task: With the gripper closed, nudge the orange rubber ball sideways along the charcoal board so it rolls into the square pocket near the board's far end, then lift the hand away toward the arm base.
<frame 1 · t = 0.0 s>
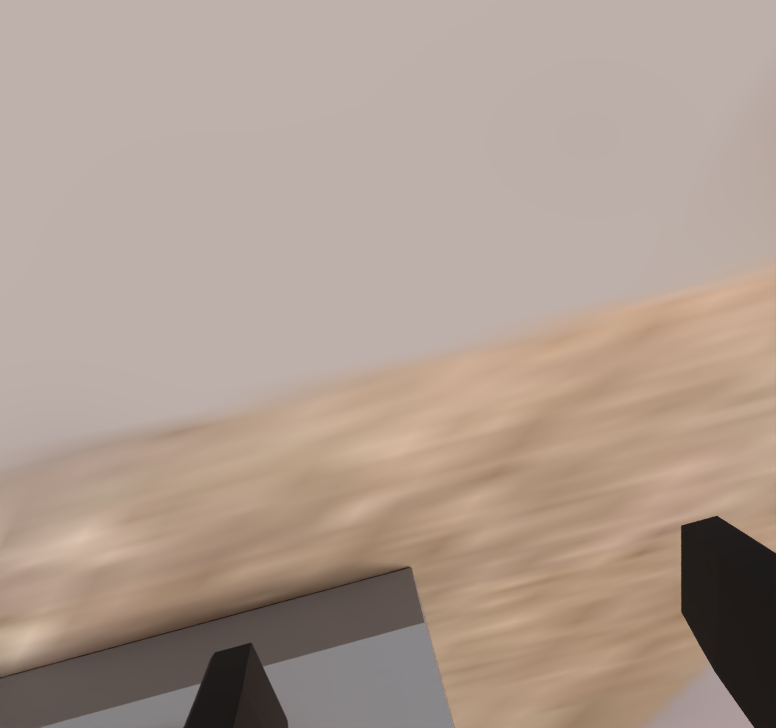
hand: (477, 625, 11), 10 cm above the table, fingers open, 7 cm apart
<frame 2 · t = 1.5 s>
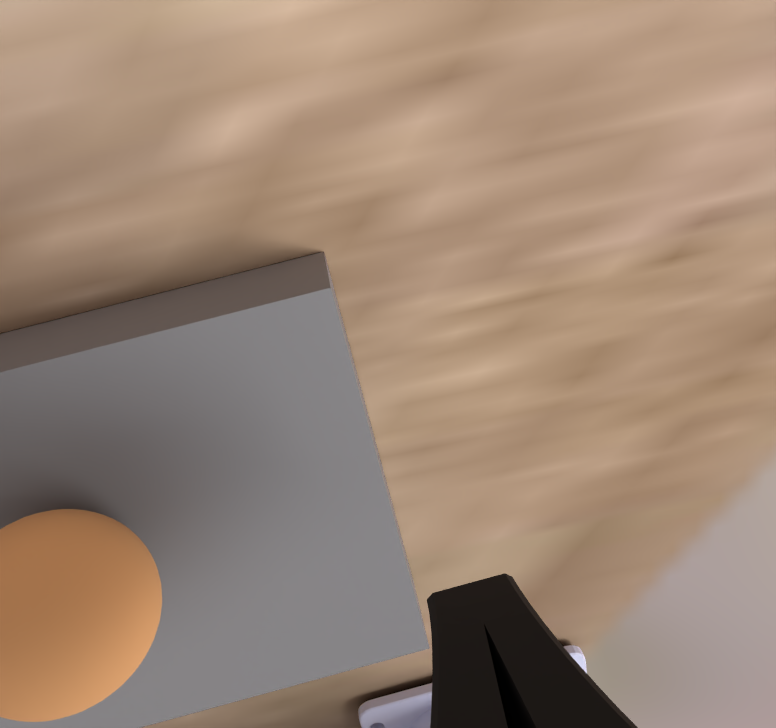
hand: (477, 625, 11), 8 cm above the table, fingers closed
ball: (58, 609, 13), point 4 cm above the table, touching board
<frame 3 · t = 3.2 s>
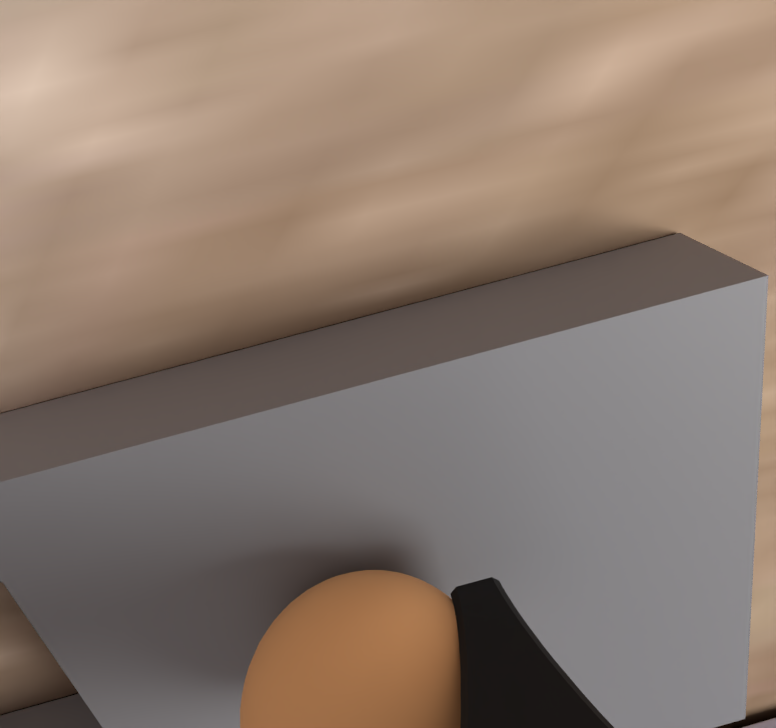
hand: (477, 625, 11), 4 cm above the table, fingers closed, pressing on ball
ball: (372, 706, 10), point 4 cm above the table, tilted 15°, touching board, gripper
board: (206, 598, 14), on the table
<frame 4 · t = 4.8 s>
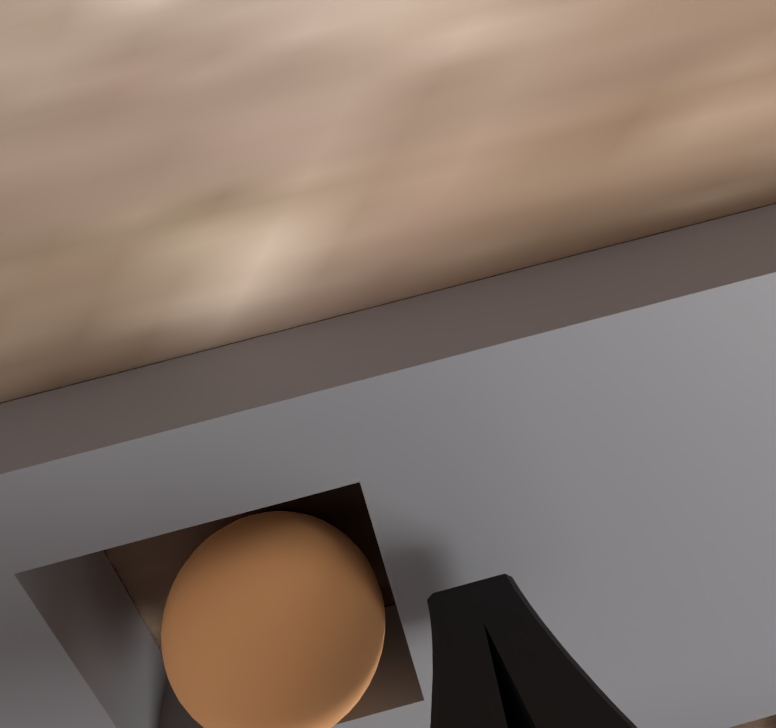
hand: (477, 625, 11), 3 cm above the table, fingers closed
ball: (276, 622, 12), point 2 cm above the table, tilted 77°
board: (465, 525, 14), on the table
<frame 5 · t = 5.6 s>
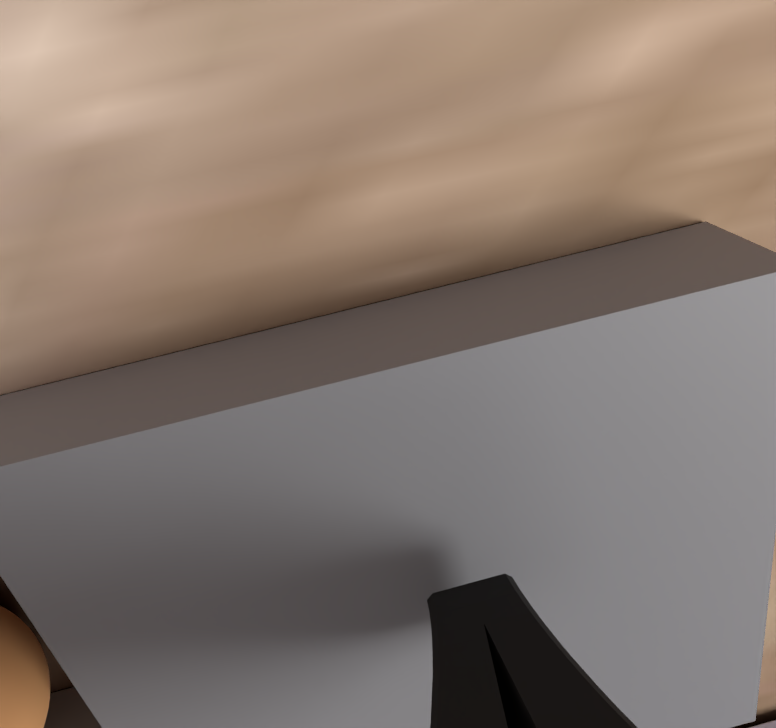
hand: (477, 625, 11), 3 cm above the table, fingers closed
board: (207, 591, 14), on the table
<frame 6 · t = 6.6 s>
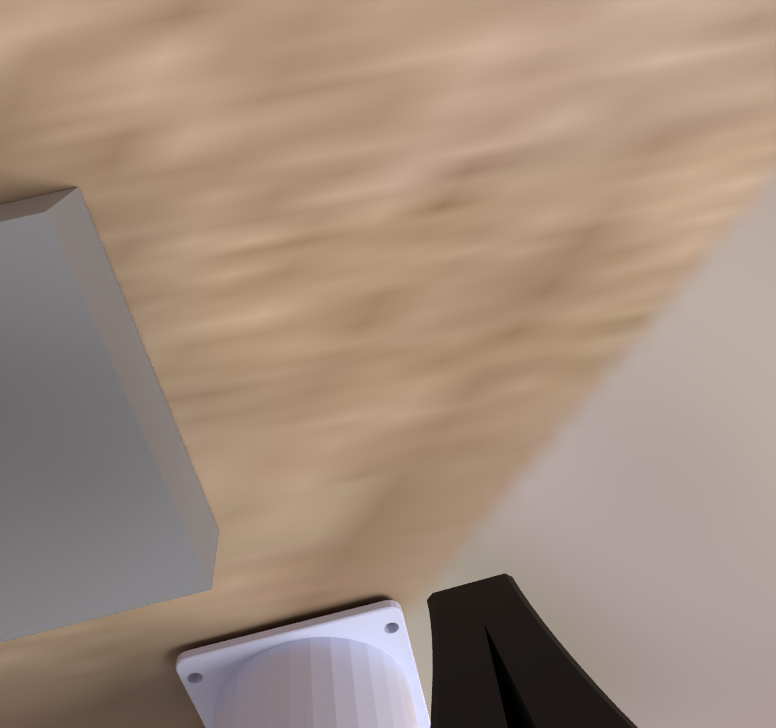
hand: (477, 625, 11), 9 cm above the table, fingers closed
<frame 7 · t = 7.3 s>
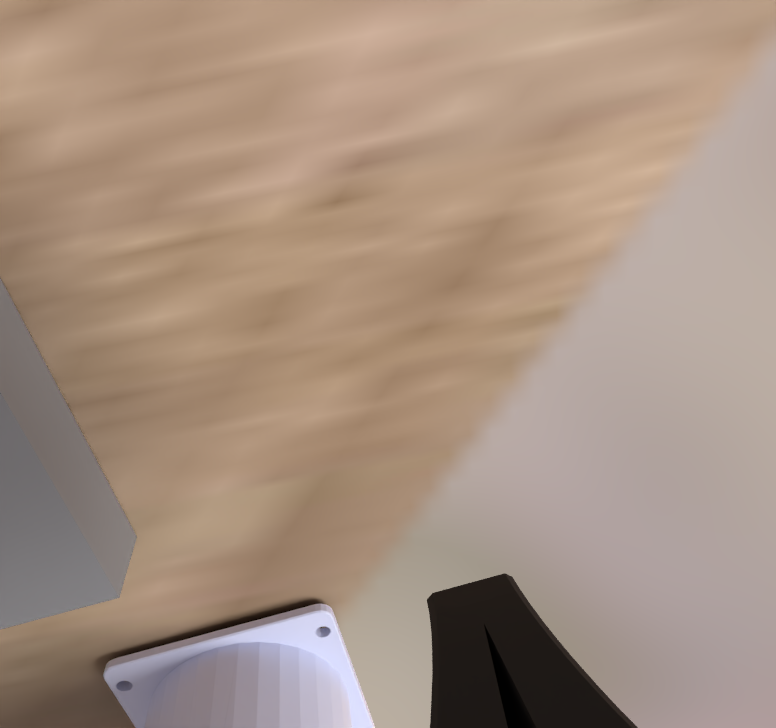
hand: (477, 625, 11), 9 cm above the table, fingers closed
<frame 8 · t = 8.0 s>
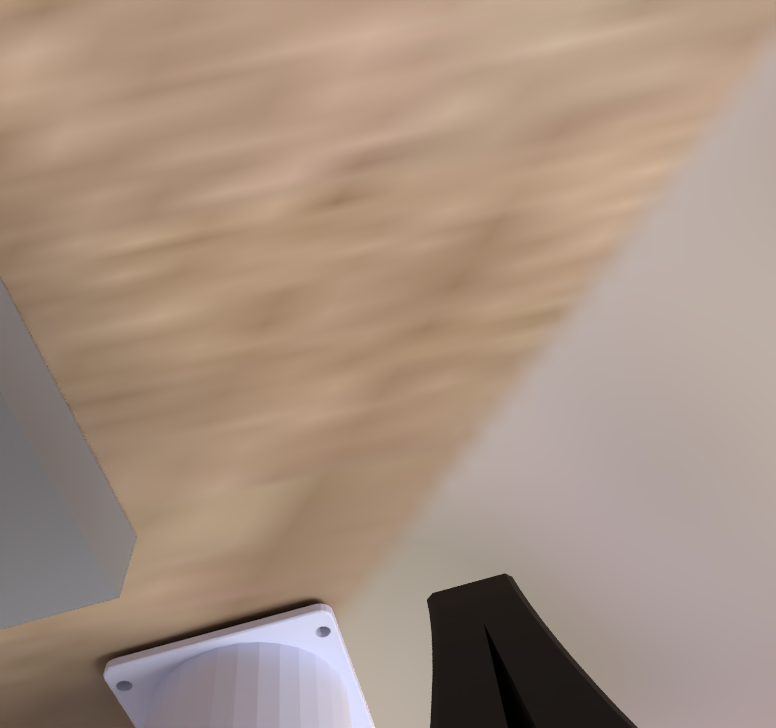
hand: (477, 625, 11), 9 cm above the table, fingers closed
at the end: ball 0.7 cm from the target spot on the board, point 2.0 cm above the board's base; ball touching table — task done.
